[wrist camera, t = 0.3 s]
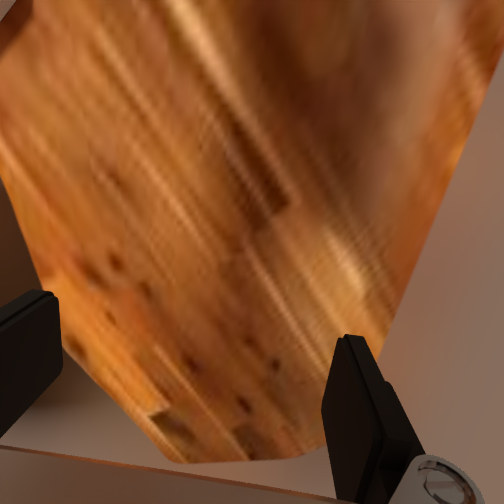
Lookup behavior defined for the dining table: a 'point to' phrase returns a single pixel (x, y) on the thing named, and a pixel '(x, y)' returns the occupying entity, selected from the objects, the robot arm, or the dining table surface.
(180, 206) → the dining table surface
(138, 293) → the dining table surface
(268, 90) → the dining table surface
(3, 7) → the trough
